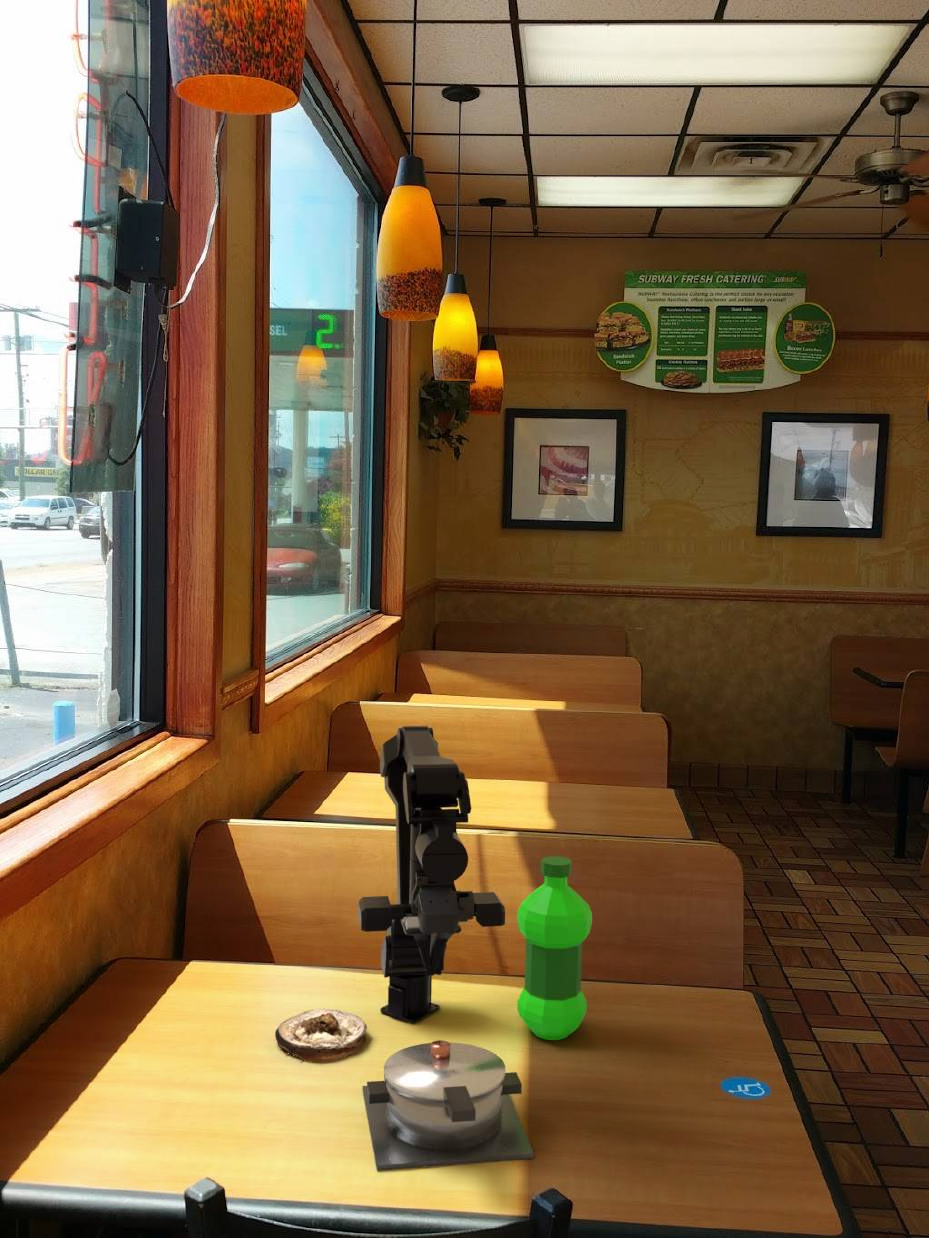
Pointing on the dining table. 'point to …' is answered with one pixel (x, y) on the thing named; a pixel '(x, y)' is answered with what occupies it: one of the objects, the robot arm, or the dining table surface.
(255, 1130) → the dining table surface
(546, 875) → the plastic bottle
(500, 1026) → the dining table surface
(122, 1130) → the dining table surface
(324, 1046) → the bowl of rice
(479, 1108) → the cooker pot
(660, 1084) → the dining table surface
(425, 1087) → the cooker lid
